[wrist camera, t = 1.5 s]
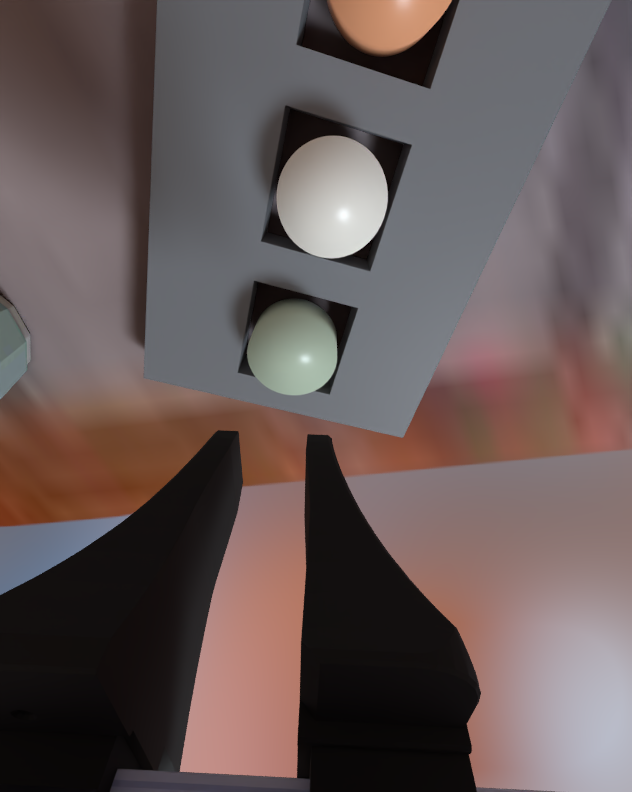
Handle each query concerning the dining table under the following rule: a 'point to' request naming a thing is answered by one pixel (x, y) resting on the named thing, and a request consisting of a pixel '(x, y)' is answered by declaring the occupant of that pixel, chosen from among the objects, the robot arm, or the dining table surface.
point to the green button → (293, 347)
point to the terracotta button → (385, 23)
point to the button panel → (407, 198)
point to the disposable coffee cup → (12, 346)
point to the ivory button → (332, 196)
